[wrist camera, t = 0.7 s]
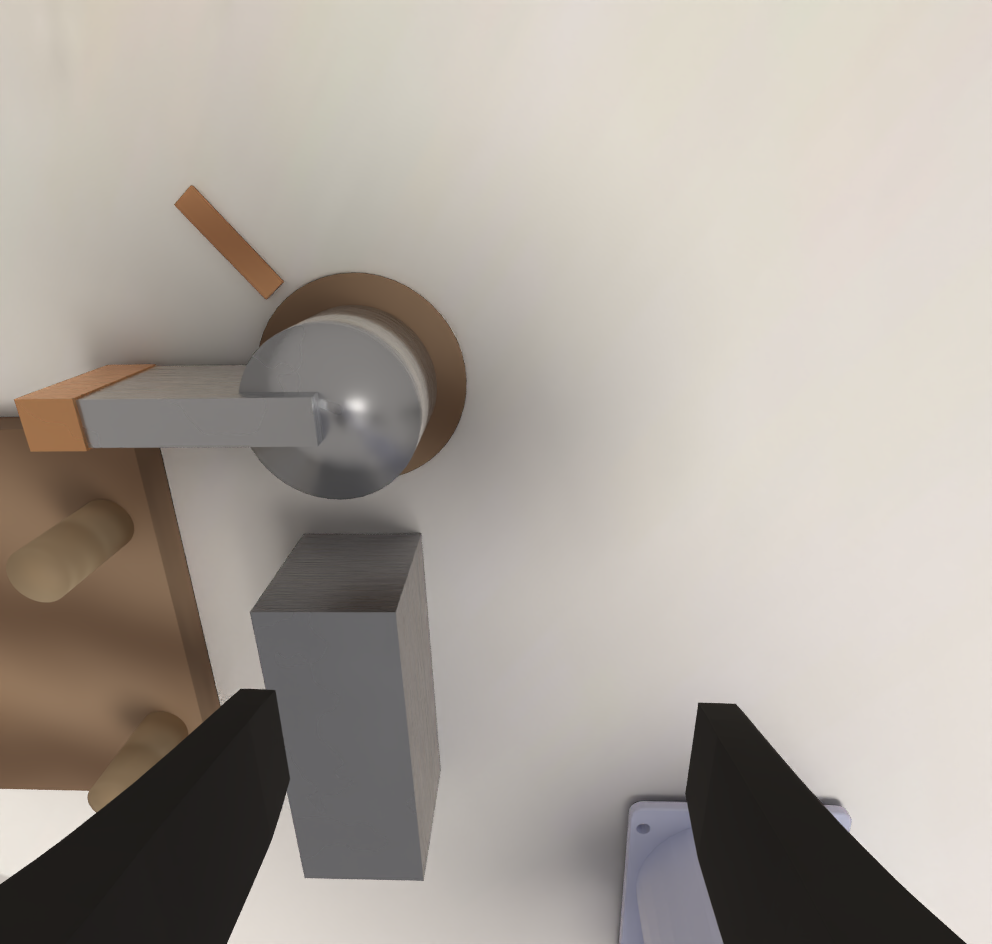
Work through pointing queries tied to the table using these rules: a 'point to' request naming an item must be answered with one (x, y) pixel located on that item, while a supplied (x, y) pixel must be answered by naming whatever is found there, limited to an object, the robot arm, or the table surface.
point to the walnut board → (93, 620)
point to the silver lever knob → (264, 404)
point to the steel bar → (354, 702)
